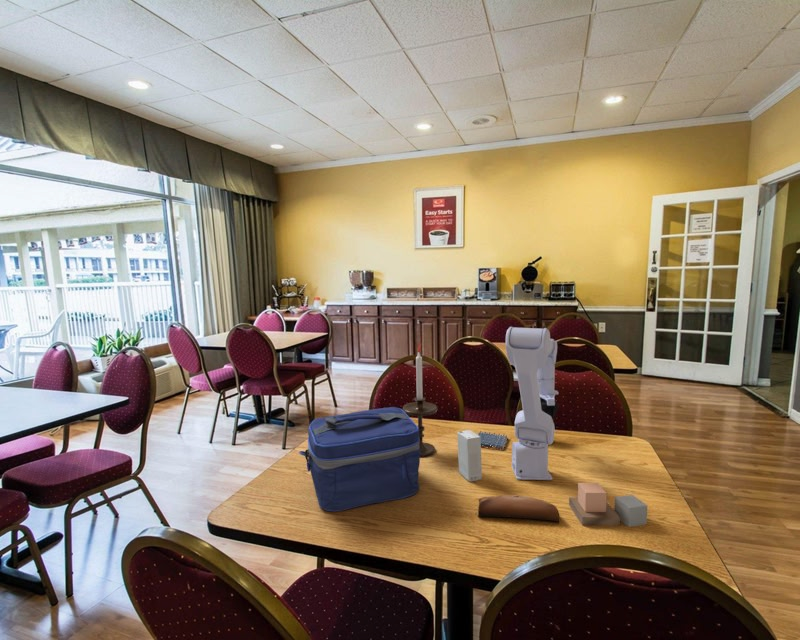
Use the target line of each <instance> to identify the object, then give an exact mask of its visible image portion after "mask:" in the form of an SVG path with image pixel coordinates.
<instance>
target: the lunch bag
mask: <svg viewBox="0 0 800 640" xmlns="http://www.w3.org/2000/svg"><path fill="white" fill-rule="evenodd" d="M307 431H308V437H307V444H308V445H307V447H308V448H307V449H305V451H303V450H299V451H298V454H299V455H301V456H303V457H304V458H305V460H306V469H307V472H310V475H311V479H312V483H313V486H314V490H315V495H316V498H317V503H318V505H319V508H321V509H323V510H324V511H327V512H341V511H346V510H349V509H353V508H357V507H361V506H367V505H371V504H372V505H373V504H378V503H382V502H388V501H389V502H390V501H394V500H401V499H405V498H409V497H411V496H414V495H415V494H416V493H417V492H418V491H419V490H420V486H419V472H420V471H419V468H420V462H421V461H420V459H421V457H420V456H421V452H420V446H419V444H420V442H419V440H420V438H419V428H418V424H416V422H414V421H413V420H412V418H411V417H410V415H408V414H406V413H405V412H404V411H403V408H399V407H395V406H390V407H383V408H374V409H367V410H366V409H365V410H360V411H353V412H348V413H343V414H336V415H331V416H325V417H317V418H315V419H313V420H312V422H310V423H309V426H308V430H307Z"/></svg>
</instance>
